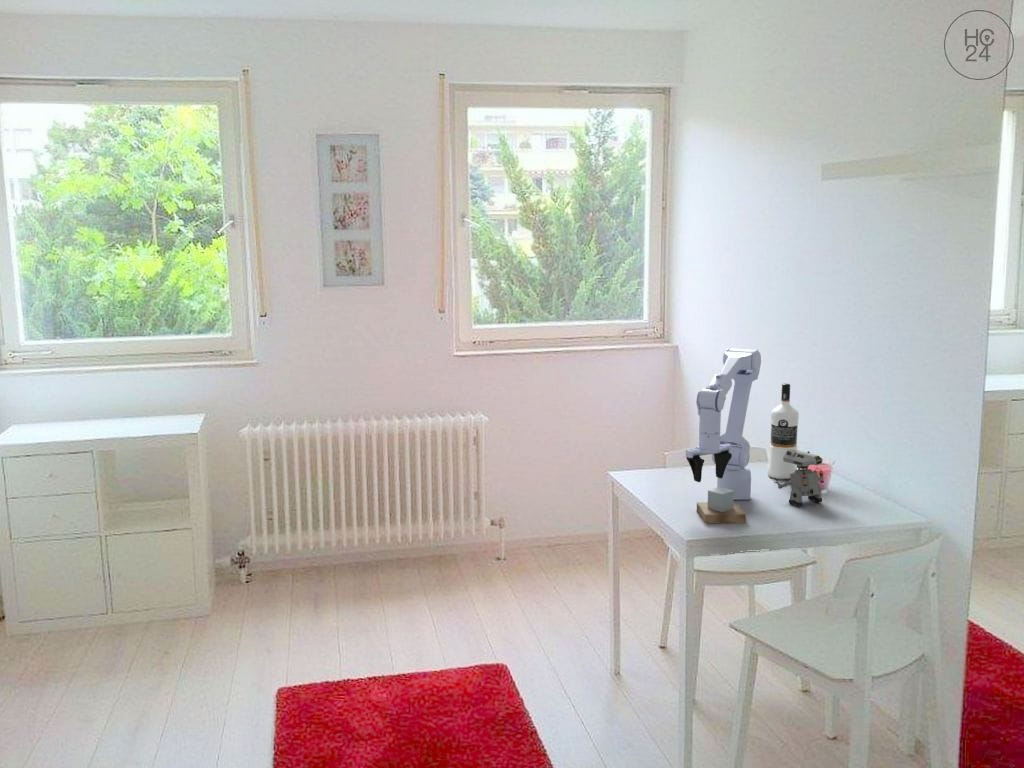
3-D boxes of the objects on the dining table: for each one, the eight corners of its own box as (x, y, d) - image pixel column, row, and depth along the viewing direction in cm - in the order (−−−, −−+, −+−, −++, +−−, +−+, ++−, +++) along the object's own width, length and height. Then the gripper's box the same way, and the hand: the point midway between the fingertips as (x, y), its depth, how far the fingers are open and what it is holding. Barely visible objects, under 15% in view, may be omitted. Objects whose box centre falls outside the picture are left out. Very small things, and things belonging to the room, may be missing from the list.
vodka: (800, 474, 296) (804, 382, 290) (792, 481, 288) (797, 387, 283) (771, 471, 300) (775, 380, 295) (763, 477, 293) (767, 384, 287)
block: (718, 504, 258) (719, 486, 257) (733, 508, 254) (734, 490, 253) (707, 507, 254) (707, 490, 254) (722, 512, 251) (722, 494, 250)
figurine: (796, 494, 275) (798, 445, 272) (826, 504, 265) (828, 453, 262) (773, 499, 270) (775, 449, 268) (803, 509, 260) (805, 458, 258)
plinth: (735, 510, 260) (735, 502, 259) (745, 523, 249) (746, 514, 249) (696, 511, 260) (696, 502, 259) (705, 523, 249) (705, 514, 248)
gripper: (721, 426, 262) (719, 472, 264) (679, 432, 256) (678, 479, 258) (737, 431, 256) (736, 478, 258) (695, 437, 249) (694, 485, 252)
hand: (708, 479), depth 258 cm, fingers open, 7 cm apart
